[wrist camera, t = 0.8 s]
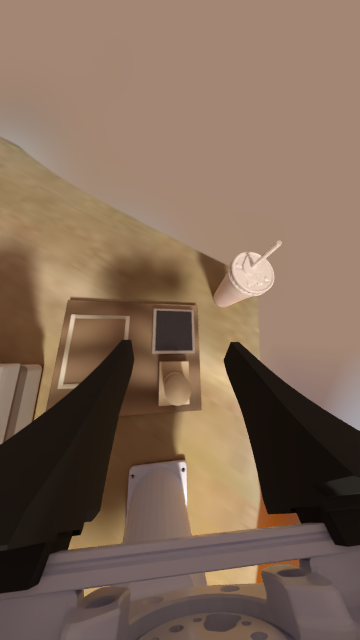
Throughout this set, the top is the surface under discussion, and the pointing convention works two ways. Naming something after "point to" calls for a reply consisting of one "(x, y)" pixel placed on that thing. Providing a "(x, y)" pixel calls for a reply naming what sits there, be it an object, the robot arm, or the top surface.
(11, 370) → the toaster
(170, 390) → the stamp
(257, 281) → the smoothie
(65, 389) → the board
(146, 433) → the top surface
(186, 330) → the ink pad
